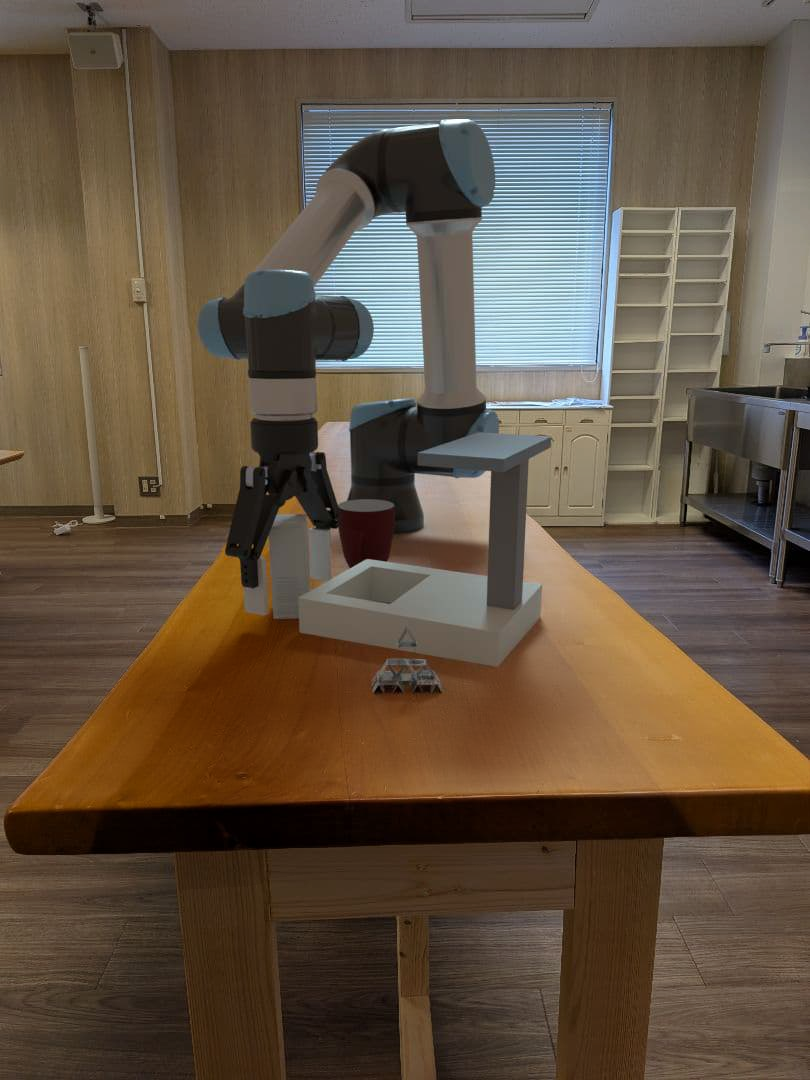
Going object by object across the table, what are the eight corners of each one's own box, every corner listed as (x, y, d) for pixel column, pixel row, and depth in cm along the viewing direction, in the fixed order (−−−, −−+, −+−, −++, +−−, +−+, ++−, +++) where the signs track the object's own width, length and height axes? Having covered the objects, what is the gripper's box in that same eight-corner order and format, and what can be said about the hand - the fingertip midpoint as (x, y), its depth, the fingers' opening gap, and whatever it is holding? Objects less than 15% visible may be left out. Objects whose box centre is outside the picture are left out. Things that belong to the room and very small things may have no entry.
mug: (391, 589, 97) (390, 516, 95) (331, 587, 98) (329, 515, 95) (397, 565, 108) (397, 499, 105) (343, 564, 108) (341, 498, 105)
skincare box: (276, 606, 91) (272, 513, 88) (311, 605, 92) (307, 513, 88) (272, 625, 85) (267, 526, 82) (308, 624, 86) (305, 525, 82)
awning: (474, 572, 88) (478, 432, 84) (543, 582, 85) (551, 436, 80) (416, 620, 73) (417, 452, 69) (497, 634, 70) (503, 458, 65)
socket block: (367, 595, 95) (367, 559, 94) (540, 624, 86) (542, 584, 84) (299, 639, 81) (298, 597, 80) (497, 679, 72) (498, 632, 70)
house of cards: (457, 672, 74) (458, 601, 72) (466, 716, 66) (468, 637, 63) (368, 673, 74) (367, 602, 72) (366, 717, 65) (365, 638, 63)
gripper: (314, 406, 94) (319, 562, 100) (181, 425, 73) (196, 624, 78) (365, 409, 91) (367, 570, 97) (242, 429, 70) (253, 635, 75)
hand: (290, 594), depth 88 cm, fingers open, 13 cm apart
